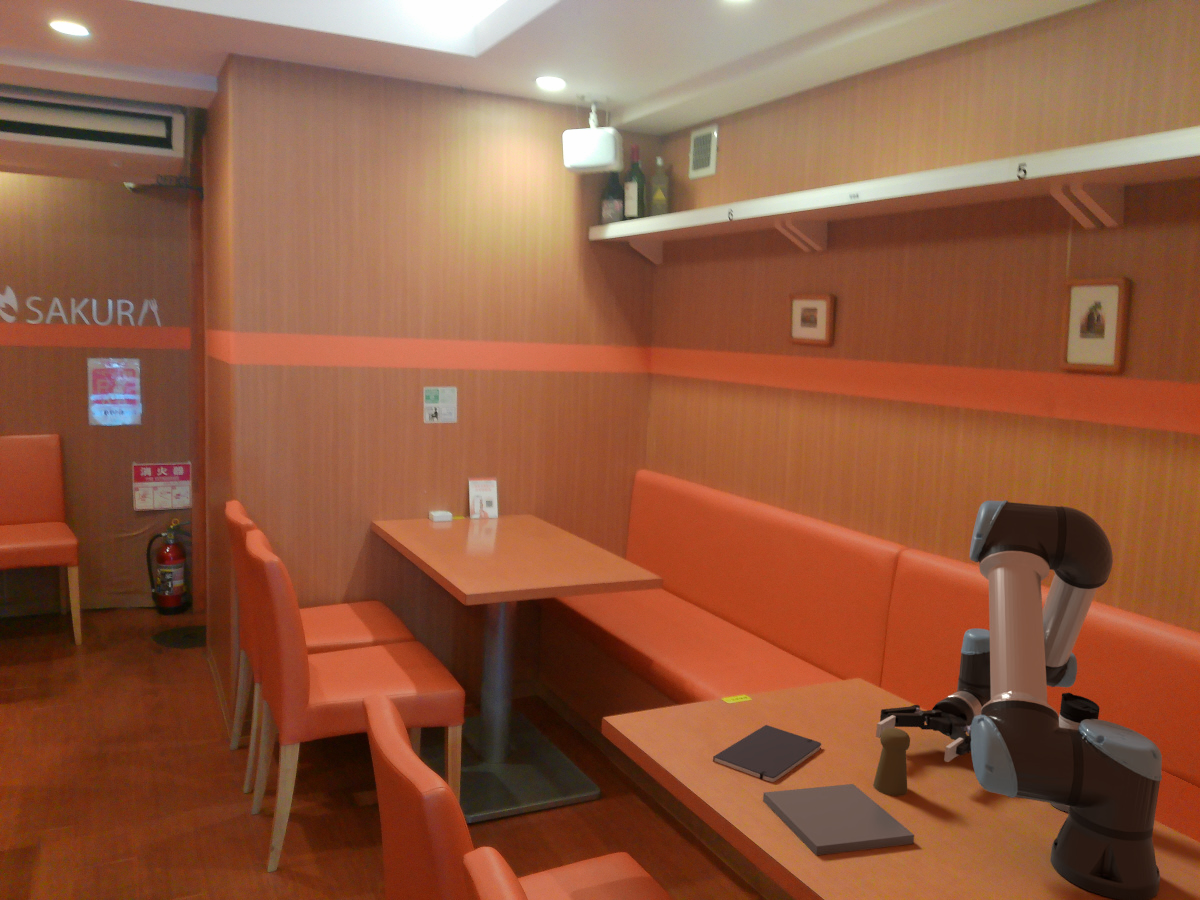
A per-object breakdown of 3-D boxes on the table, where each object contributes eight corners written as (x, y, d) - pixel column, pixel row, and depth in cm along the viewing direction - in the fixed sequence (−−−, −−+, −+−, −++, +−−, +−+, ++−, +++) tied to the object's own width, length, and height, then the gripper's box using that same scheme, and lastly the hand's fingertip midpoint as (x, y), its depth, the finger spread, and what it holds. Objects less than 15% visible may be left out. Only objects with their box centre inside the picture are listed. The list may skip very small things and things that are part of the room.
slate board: (913, 843, 155) (914, 834, 155) (816, 855, 149) (816, 846, 149) (852, 791, 172) (853, 783, 172) (763, 800, 166) (763, 792, 166)
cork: (909, 798, 171) (915, 739, 169) (874, 793, 172) (880, 734, 171) (905, 783, 177) (911, 726, 175) (871, 778, 178) (877, 722, 176)
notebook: (765, 731, 198) (712, 764, 181) (766, 724, 197) (713, 756, 181) (822, 750, 190) (772, 786, 173) (822, 743, 190) (773, 777, 173)
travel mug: (1064, 794, 176) (1077, 690, 174) (1094, 811, 170) (1108, 704, 168) (1039, 798, 174) (1052, 693, 171) (1069, 816, 168) (1083, 707, 165)
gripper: (1016, 752, 187) (975, 784, 172) (897, 713, 204) (849, 739, 188) (1021, 715, 186) (979, 745, 171) (900, 679, 203) (853, 703, 187)
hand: (911, 742), depth 180 cm, fingers open, 13 cm apart
